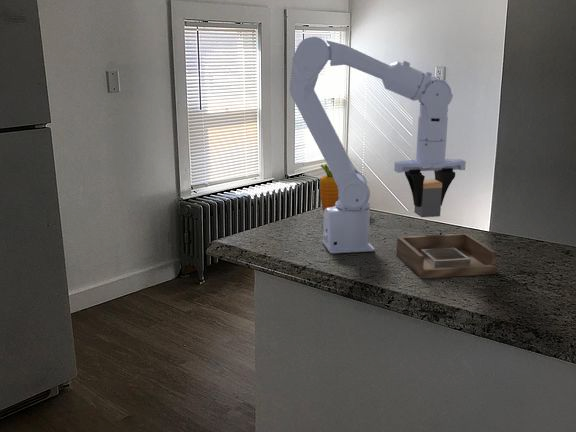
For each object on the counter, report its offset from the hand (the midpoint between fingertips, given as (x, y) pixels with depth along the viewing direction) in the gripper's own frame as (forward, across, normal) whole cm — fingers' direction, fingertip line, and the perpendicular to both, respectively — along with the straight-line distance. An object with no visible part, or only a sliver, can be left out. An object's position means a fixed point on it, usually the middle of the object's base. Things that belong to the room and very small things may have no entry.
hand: (427, 205), depth 127 cm
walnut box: (+9, 0, -10) cm, 14 cm away
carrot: (+10, -15, +24) cm, 29 cm away
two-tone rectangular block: (+2, 0, 0) cm, 2 cm away
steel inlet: (+9, 0, -10) cm, 14 cm away
